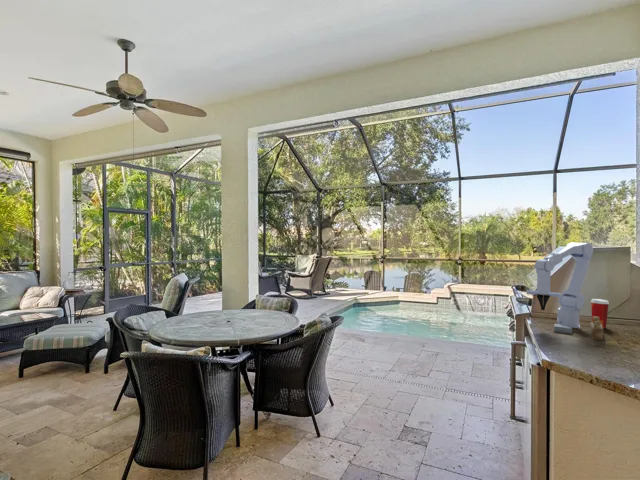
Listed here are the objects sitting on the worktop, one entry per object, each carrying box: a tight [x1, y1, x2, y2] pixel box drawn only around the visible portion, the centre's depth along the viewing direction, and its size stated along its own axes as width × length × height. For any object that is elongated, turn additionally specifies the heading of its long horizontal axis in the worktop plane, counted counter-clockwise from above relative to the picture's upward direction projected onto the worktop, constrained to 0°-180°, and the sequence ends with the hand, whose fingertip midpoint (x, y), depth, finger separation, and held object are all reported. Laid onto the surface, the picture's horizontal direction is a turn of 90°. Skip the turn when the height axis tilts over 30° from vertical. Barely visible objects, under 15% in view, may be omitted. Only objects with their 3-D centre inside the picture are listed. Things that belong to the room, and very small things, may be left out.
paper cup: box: [590, 298, 610, 329], centre depth 182 cm, size 8×8×14 cm
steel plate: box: [553, 322, 573, 335], centre depth 173 cm, size 7×7×3 cm
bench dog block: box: [589, 316, 604, 342], centre depth 165 cm, size 4×14×8 cm, turn 144°
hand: (542, 309), depth 177 cm, fingers closed
